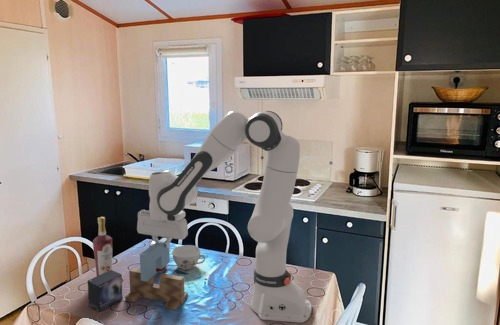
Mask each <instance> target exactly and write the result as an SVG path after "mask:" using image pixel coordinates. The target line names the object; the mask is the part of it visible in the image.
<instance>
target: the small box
mask: <svg viewBox="0 0 500 325" xmlns="http://www.w3.org/2000/svg"><path fill="white" fill-rule="evenodd" d="M122 279H123V278H122V273H120V272H117V271H115V270H113V269H112V270H110V271H108V272H105V273H103V274H101V275H99V276H97V275H96V276H95V277H92V278H90V279H88V280H87V294H88V308H90V309H92V310H93V311H97V312H99V313H100V312H101V311H104V310H105V309H107V308H108V307H110V306H112V305H115V304H116V303H118V302H120V301H122V300H123V280H122Z"/></svg>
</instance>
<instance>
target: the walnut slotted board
mask: <svg viewBox="0 0 500 325" xmlns="http://www.w3.org/2000/svg"><path fill="white" fill-rule="evenodd" d="M128 274H129V275H128V276H129V292H128V294H126V295H125V301H129V302H133V303H135V302H136V301H137V300H139V299H140V298H145V299H150V300H155V301H159V302H165V306H164V307H165V309H168V310H172V311H176V310H177V309H178V308H179V307H180V306H182V305H183V304H184V303H185V300H186V299H187V298H188V297H189V293H188V292H186V291H185V277H184V276H181V275H176V274H175V275H174V274H168V273H165V272H164V273H162V272H161V274H160V275H159V276H158V280H159V282H158V283H155V282H154V281H155V279H154V278H155V277H154V276H155V275H154V276H153V277H152V278H151V279H149V280H148V281H147V282H146V281H141V271H140V268H135V267H132V268H130V269H129V270H128Z"/></svg>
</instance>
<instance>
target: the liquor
mask: <svg viewBox="0 0 500 325" xmlns="http://www.w3.org/2000/svg"><path fill="white" fill-rule="evenodd" d="M97 224H98V235H97V236H96V237H95V238H94V239H93V240H92V247H93V255H94V264H95V265H94V266H95V272H96V277H97V276H99V275H101V274H103V273H105V272H108V271H110V270H113V237H111V236H110V235H108V234H107V231H106V226H105V225H106V217H105V216H100V217H97Z"/></svg>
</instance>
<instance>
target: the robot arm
mask: <svg viewBox="0 0 500 325" xmlns="http://www.w3.org/2000/svg"><path fill="white" fill-rule="evenodd" d="M282 130H283V121H282V118H281V117H280V116H279V114H277V113H276V112H274V111H271V110H264V111H262V110H261V111H258V112H256V113H254V114H253V115H250V117H247V116H245V115H244V114H243V113H241V112H239V111H233V110H232V111H229V112H228V113H227V114H225V116H223V117H222V118H221V119H220V120H219V121H218V122H217V124H215V126H214V127H213V128H212V129H211V130H210V132H209V133H208V135H207V136H206V138H205V139H204V141H203V142H202V143H201V145H200V146H199V149H198V151H196V153H195V154H194V156H193V158H191V160H190V162H188V164H187V166H185V168H184V169H183V170H182V171H181V173H180V174H178V175H176V174H175V173H173V171H171V170H170V169H160V170H157V171H154V172H152V173H151V174H150V176H149V181H148V196H149V206H148V207H149V210H145V209H141V210H139V211H138V212H137V223H136V231H137V234H141V235H147V236H151V239H152V240H153V242H155V243H156V242H158V241H159V240H160V239H159V238H158V237H161V238H166V240H168V241H167V242H166V243H164V248H169V249H170V247H171V245H170V244H171V242H172V240H174V239H175V240H184V239H186V237H188V235H189V231H188V222H187V219H186V218H185V217H186V212H185V210H184V209H186V208H187V207H188V206H190V205H191V204H193V203H194V202H195V201H196V199H197V198H198V195H199V190H198V187H197V184H198V183H199V182H200V181H201V179H202V178H203V177H204V176H206V175H207V173H210V172H211V171H212V170H215V169H216V168H218V167H220V166H221V165H223V164H224V163H226V162H227V161H228V160H229V159H230V158H231V157H232V156H233V155H234V154H235V153H236V152H237V150H238V149H239V147H240V146H242V144H243V143H244V142H245V141H247V140H248V142H250V143H251V144H252V145H254V146H256V147H258V148H260V149H262V150H264V151H266V152H267V159H266V163H265V169H264V174H263V180H262V184H261V188H260V192H259V194H258V196H257V200H256V202H255V205H254V208H253V212H252V215H251V217H250V218H249V221H247V222H248V224H247V231H248V234H249V236H250V237H251V238H252V239H253V240H255V241H256V242H257V245H256V246H255V247H256V248H255V267H254V269H253V270H254V271H253V284H254V286H253V293H252V297H251V300H250V304H249V307H250V308H251V310H252V311H253V312H255V313H256V314H257V315H258V317H259V319H261V320H263V321H276V322H287V323H288V322H289V323H290V322H291V323H298V324H299V323H305V322H306V321H307V320H308V319H310V316H311V314H312V310H313V308H312V303H311V302H310V300H308V299H306V295H305V294H306V293H305V291H304V290H303V288H301V287H300V286H299V285H297V284H296V282H294V281H293V280H292V271H291V270H290V271H288V270H287V269H286V268H287V249H288V244H289V239H290V234H291V227H292V221H293V218H294V209H293V208H294V207H293V205H292V204H291V202H290V201H291V199H292V196H293V195H294V191H295V185H296V181H297V177H298V176H297V175H298V173H299V172H298V171H299V167H300V166H299V165H300V156H301V155H300V153H301V151H300V150H301V148H300V142H299V141H298V139H296V138H295V137H293V136H290V135H286V134H285V133H284V132H283V131H282Z"/></svg>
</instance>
